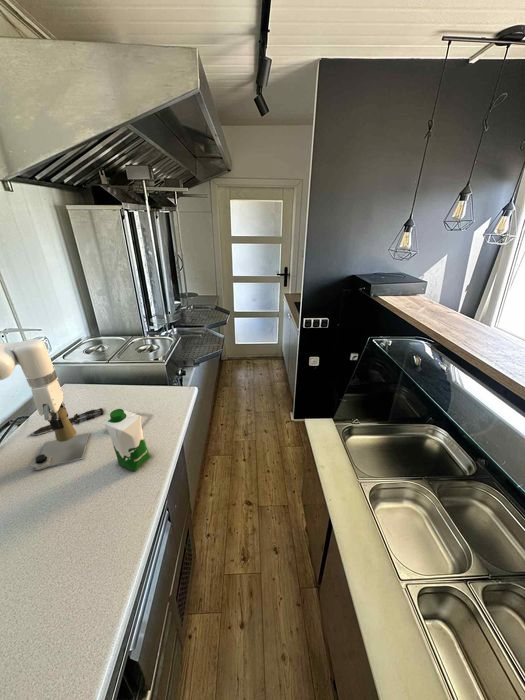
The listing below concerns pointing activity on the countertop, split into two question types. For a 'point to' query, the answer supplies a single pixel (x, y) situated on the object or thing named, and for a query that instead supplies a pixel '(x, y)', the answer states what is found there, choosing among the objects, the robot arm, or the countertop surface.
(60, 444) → the scale
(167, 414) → the countertop surface
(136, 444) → the milk carton
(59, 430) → the cork
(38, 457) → the power button
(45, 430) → the knife
